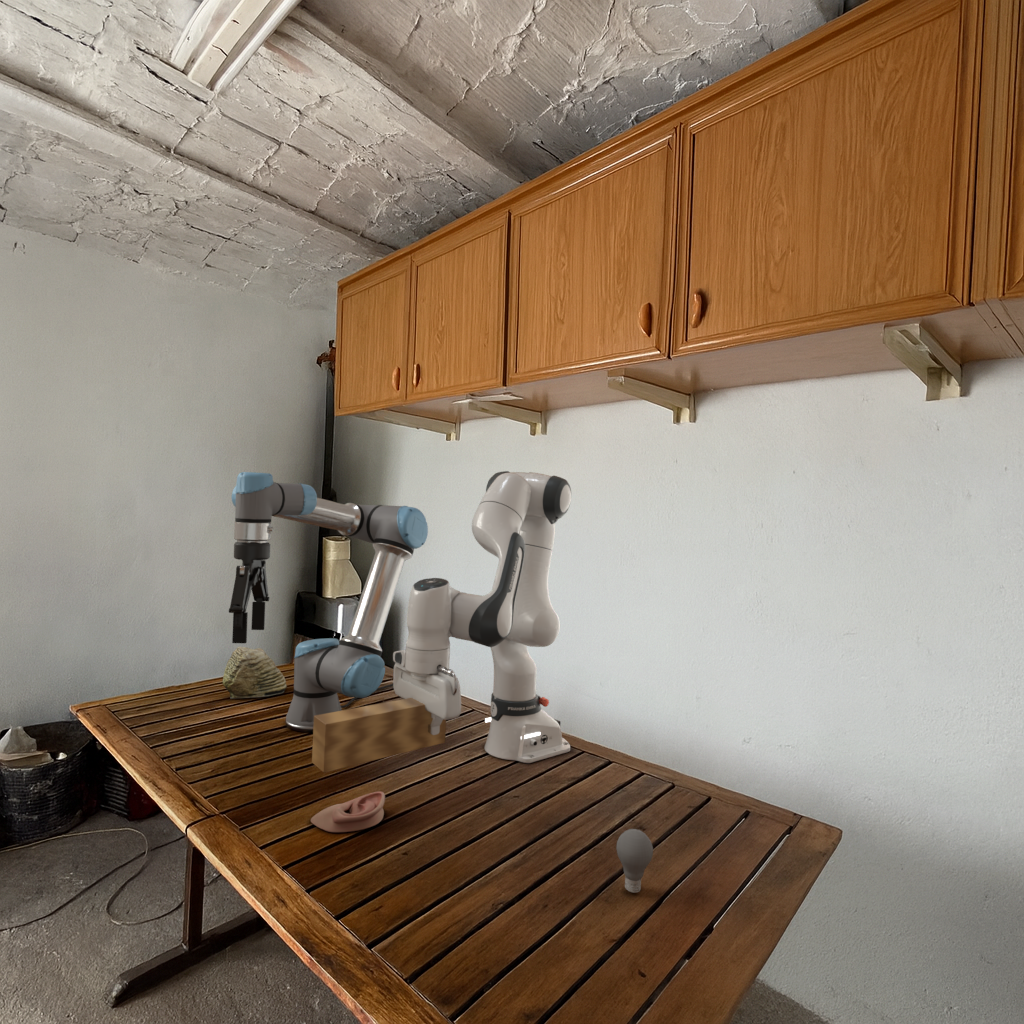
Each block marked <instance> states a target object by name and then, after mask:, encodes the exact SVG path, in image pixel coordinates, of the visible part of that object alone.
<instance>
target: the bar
mask: <svg viewBox="0 0 1024 1024" xmlns="http://www.w3.org/2000/svg"><path fill="white" fill-rule="evenodd" d="M432 720H433V718H431V713H430V712H428V711H426V710H425V704H423V703H421V702H419V701H417V700H415V699H413V698H407V699H404V698H402V699H396V700H391V701H386V702H381V703H375V704H369V705H365V706H359V707H353V708H349V709H342V711H337V712H331V713H326V714H321V715H315V716H314V726H313V732H312V751H311V752H312V753H311V763H312V764H313V765H315V766H316V768H318V769H319V770H320V771H321V772H322V773H327V772H331V771H336V770H340V769H343V768H348V767H353V766H356V765H361V764H365V763H369V762H373V761H376V760H380V759H383V758H388V757H392V756H397V755H401V754H405V753H409V752H413V751H417V750H421V749H425V748H429V747H432V746H437V745H442V744H445V743H446V732H447V731H446V730H447V720H443V721H442V722H441V724H440V732H439V734H437V735H432V734H430V733H429V732H428V724H431V722H432Z"/></svg>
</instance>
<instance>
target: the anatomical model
mask: <svg viewBox="0 0 1024 1024" xmlns="http://www.w3.org/2000/svg"><path fill="white" fill-rule="evenodd" d="M385 802H386V794H385V792H384V791H380V790H379V791H374V792H370V793H366V794H363V795H361V796H358V797H355V798H353V799H351V800H348V801H345V802H343V803H337V804H334V805H333V804H332V805H330V806H328V807H325V808H324V809H322V810H321V811H318V812H317V813H316V814H315V815H313V816H312V817H311V818H310V823H311V824H313V825H314V826H316V827H317V828H319V829H321V830H323V831H326V832H329V833H347V832H355V831H361V830H365V829H369V828H371V827H374V826H376V825H378V824H379V823H380V822H382V820H383V819H384V815H385V810H384V805H385Z"/></svg>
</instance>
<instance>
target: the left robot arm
mask: <svg viewBox="0 0 1024 1024" xmlns="http://www.w3.org/2000/svg"><path fill="white" fill-rule="evenodd" d="M231 502H232V504H233V506H234V508H235V510H234V511H235V514H234V519H235V520H234V533H233V539H234V540H235V542H234V544H233V558H234V559H235V560H238V561H240V560H241V561H242V562H241V565H236V568H235V579H234V583H233V584H234V585H233V590H232V593H231V594H232V595H231V600H230V606H229V608H228V613H230V614H233V615H232V637H231V640H232V641H231V642H232V644H247V642H248V640H247V639H248V615H249V613H248V611H247V609H248V605H249V602H250V601H249V600H250V597H251V594H252V598H253V600H254V601H252V602H251V604H252V605H251V628H250V629H251V631H264V630H265V621H266V619H265V618H266V602H269V601H270V596H269V589H268V579H267V570H266V568H267V567H266V564H267V563H266V560H269V559H270V557H271V543H270V542H268V541H270V540H271V532H273V531H274V527H273V526H272V517H273V518H274V517H275V518H279V519H284V520H289V521H293V522H298V523H302V524H306V525H311V526H316V527H320V528H326V529H330V530H336V531H337V532H338V533H339V534H341V535H343V536H346V537H349V538H354V539H357V540H360V541H363V542H366V543H370V544H372V548H373V550H374V551H375V552H374V553H375V554H374V556H373V559H372V562H371V565H370V568H369V571H368V575H367V577H366V581H365V583H364V587H363V589H362V592H361V595H360V598H359V601H358V604H357V607H356V610H355V613H354V615H353V618H352V622H351V624H350V628H349V631H348V633H347V634H346V635H345V636H344V637H342V638H340V640H339V639H338V638H335V637H333V638H332V637H329V638H315V639H308V640H304V641H302V642H299V643H298V644H297V645H296V646H295V652H294V653H295V654H294V656H293V659H294V661H293V662H294V663H293V664H294V668H293V695H292V696H293V697H292V699H291V702H290V704H289V708H288V711H287V713H286V715H285V726H286V728H287V729H289V730H291V731H294V732H295V731H296V732H301V733H313V726H314V716H315V715H321V714H326V713H331V712H337V711H342V710H343V709H345V708H346V707H349V706H351V704H352V702H354V701H356V700H357V699H365V698H367V697H370V696H371V695H372V694H373V693H375V692H377V691H380V690H383V689H386V688H390V687H393V683H391V684H387V685H383V686H381V685H382V682H383V681H384V678H385V673H386V667H385V660H384V659H383V658H382V657H381V656H382V653H383V649H382V647H381V645H380V641H381V638H382V634H383V632H384V628H385V625H386V622H387V620H388V615H389V613H390V609H391V606H392V604H393V601H394V597H395V594H396V591H397V587H398V584H399V581H400V578H401V574H402V573H403V572H402V571H403V569H404V566H405V562H406V561H408V560H410V559H412V557H413V556H414V555H413V554H414V552H415V550H416V549H420V548H421V547H422V546H424V545H425V543H426V542H427V539H428V534H429V526H428V522H427V519H426V516H425V514H424V513H423V511H421V510H420V509H419V508H417V507H414V506H408V505H386V504H358V503H353V502H347V503H345V504H343V503H341V502H336V501H332V500H329V499H324V498H320V497H318V495H317V492H316V490H315V488H314V487H313V486H312V485H310V484H305V483H299V482H297V483H293V482H292V483H291V482H276V481H275V482H274V477H273V474H272V473H267V472H256V471H255V472H253V471H242V472H240V473H238V474H237V477H236V484H235V486H234V488H233V489H232V492H231ZM338 694H340V695H344V696H346V697H348V698H351V699H350V700H349V701H348V702H347V703H346V704H344V705H341V702H340V699H339V695H338Z"/></svg>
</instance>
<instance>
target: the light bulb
mask: <svg viewBox="0 0 1024 1024" xmlns="http://www.w3.org/2000/svg"><path fill="white" fill-rule="evenodd" d="M615 849H616V854H617V857H618V859H619V861H620V863H621V865H622V867H623V873H624V874H623V875H624V876H625V878H624V888H625V890H627V891H628V892H630V893H634V894H635V893H639V892H640V891H641V889H642V887H641V886H642V879H643V877H644V875H645V871H646V868H647V867H648V866H649V864H650V863H651V861H652V859H653V855H654V847H653V843H652V841H651V838H649V836H648V835H647V834H646V833H645V832H643V831H642V830H641V829H636V828H629V829H627V830H625V831H623V832H622V833H621V834H620V835H619V837H618V839H617V841H616V847H615Z"/></svg>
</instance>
